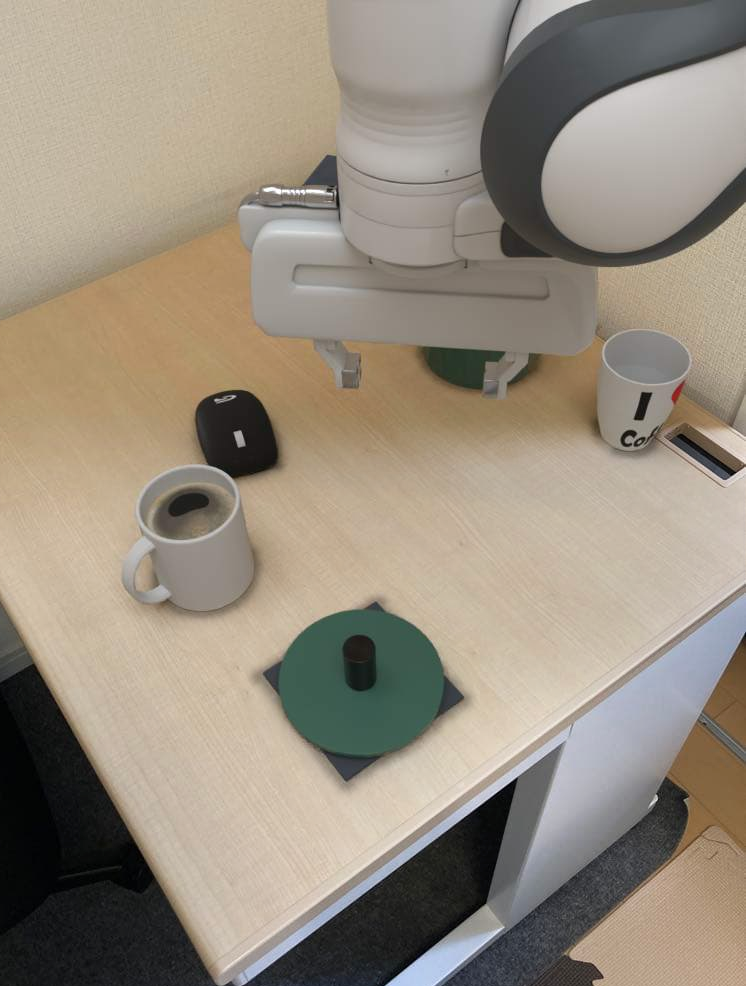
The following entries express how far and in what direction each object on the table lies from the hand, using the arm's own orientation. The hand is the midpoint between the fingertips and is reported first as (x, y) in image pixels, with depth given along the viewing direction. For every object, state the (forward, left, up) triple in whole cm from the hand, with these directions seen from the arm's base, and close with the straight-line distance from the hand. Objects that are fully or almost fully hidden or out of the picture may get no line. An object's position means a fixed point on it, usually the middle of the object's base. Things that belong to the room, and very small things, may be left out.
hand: (420, 387), depth 59 cm
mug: (+21, -2, -27) cm, 34 cm away
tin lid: (+4, +7, -26) cm, 27 cm away
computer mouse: (+21, -20, -27) cm, 40 cm away
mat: (+4, +7, -27) cm, 28 cm away
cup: (-18, -26, -27) cm, 42 cm away
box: (+17, -53, -27) cm, 61 cm away
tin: (-2, -37, -27) cm, 46 cm away
